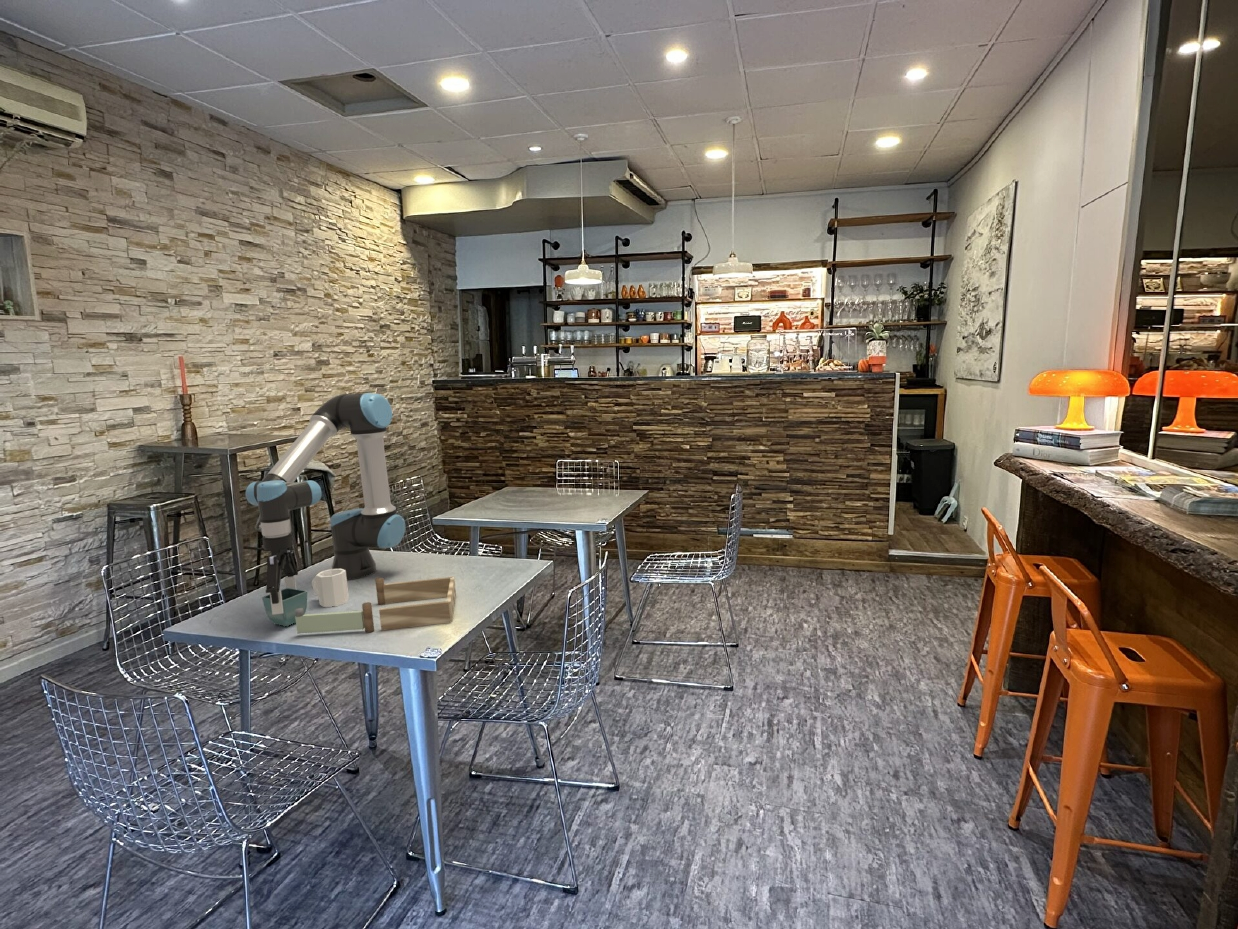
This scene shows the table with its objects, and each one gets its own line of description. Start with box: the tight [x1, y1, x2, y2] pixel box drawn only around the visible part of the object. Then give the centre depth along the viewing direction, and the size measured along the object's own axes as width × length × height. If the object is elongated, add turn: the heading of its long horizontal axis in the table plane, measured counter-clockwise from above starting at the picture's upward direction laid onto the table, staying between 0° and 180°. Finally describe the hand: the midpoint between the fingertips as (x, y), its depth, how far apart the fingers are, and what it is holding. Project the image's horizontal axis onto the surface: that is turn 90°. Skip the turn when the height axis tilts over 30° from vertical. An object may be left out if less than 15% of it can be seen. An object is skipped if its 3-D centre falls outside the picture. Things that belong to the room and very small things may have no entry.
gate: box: [295, 608, 365, 634], centre depth 180 cm, size 18×2×7 cm, turn 93°
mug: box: [310, 568, 350, 608], centre depth 205 cm, size 12×9×10 cm
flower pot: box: [261, 587, 308, 627], centre depth 189 cm, size 9×9×9 cm
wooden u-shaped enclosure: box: [361, 576, 457, 634], centre depth 193 cm, size 24×24×8 cm
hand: (285, 605), depth 189 cm, fingers open, 13 cm apart
